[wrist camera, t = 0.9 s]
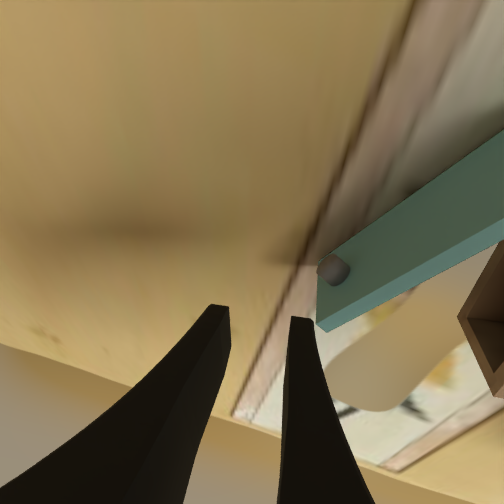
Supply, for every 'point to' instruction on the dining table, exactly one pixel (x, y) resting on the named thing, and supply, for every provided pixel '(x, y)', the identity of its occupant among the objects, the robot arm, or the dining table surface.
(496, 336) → the walnut cabinet
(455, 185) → the teal door
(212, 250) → the dining table surface
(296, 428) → the robot arm
